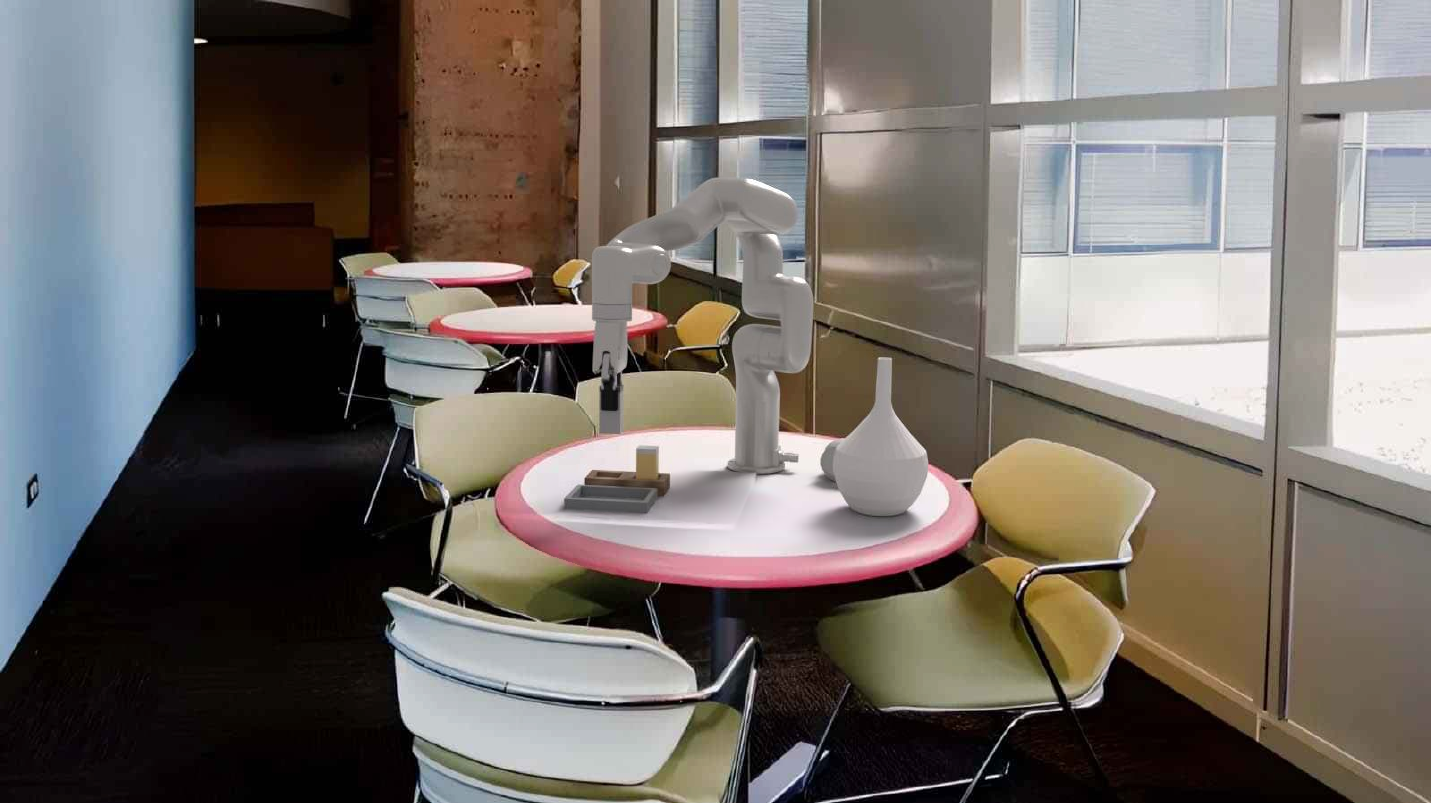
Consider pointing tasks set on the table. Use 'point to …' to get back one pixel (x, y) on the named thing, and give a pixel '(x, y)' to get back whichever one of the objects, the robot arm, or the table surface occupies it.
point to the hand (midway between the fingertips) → (611, 407)
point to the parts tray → (579, 503)
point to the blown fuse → (612, 415)
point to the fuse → (647, 462)
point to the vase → (880, 458)
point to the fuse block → (627, 480)
